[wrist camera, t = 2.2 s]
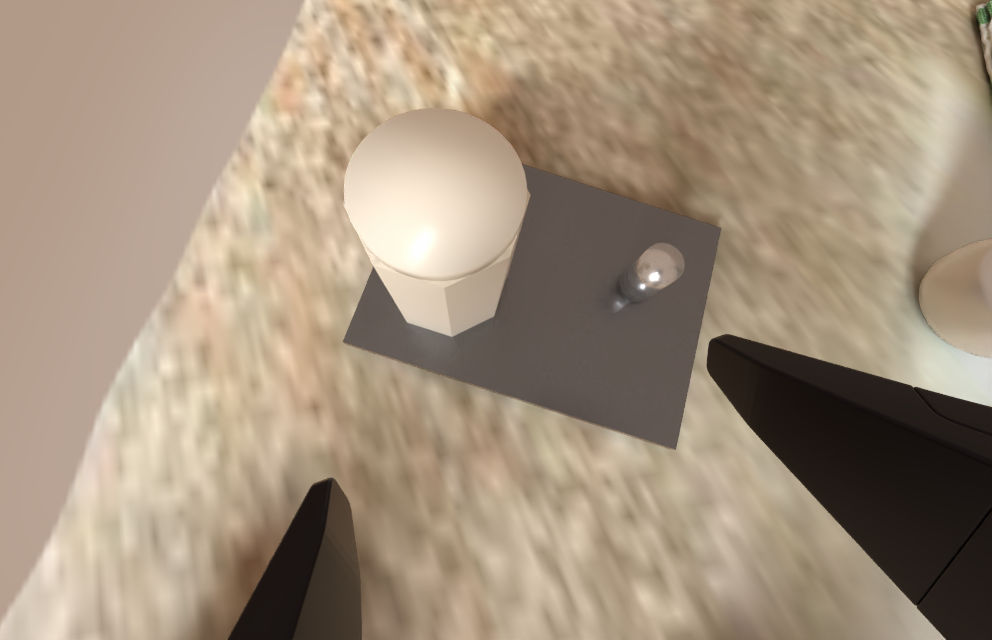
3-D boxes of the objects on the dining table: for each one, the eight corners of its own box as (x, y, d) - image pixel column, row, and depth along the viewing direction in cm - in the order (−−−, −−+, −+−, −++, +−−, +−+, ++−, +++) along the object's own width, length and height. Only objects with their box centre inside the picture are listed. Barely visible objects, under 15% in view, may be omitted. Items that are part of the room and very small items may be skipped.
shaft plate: (713, 233, 26) (760, 198, 22) (668, 448, 23) (713, 454, 19) (428, 142, 26) (421, 89, 22) (346, 344, 23) (320, 327, 19)
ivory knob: (516, 246, 24) (548, 139, 15) (483, 347, 23) (496, 297, 14) (414, 213, 24) (383, 86, 15) (375, 312, 23) (314, 239, 14)
